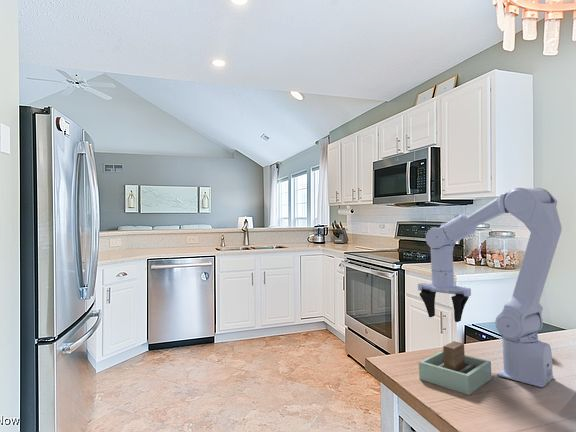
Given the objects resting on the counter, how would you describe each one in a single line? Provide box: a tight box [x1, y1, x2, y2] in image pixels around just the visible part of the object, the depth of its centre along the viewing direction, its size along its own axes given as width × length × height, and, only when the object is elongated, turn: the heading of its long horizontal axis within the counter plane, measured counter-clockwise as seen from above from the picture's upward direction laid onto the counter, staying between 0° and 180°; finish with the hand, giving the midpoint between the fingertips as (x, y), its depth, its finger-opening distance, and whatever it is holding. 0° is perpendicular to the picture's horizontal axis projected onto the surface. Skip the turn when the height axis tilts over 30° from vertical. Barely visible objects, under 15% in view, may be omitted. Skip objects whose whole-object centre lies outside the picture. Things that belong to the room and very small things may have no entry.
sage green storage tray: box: [418, 349, 493, 396], centre depth 89 cm, size 12×12×4 cm
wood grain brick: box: [442, 341, 466, 372], centre depth 89 cm, size 2×5×8 cm, turn 130°
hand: (444, 318), depth 107 cm, fingers open, 7 cm apart
